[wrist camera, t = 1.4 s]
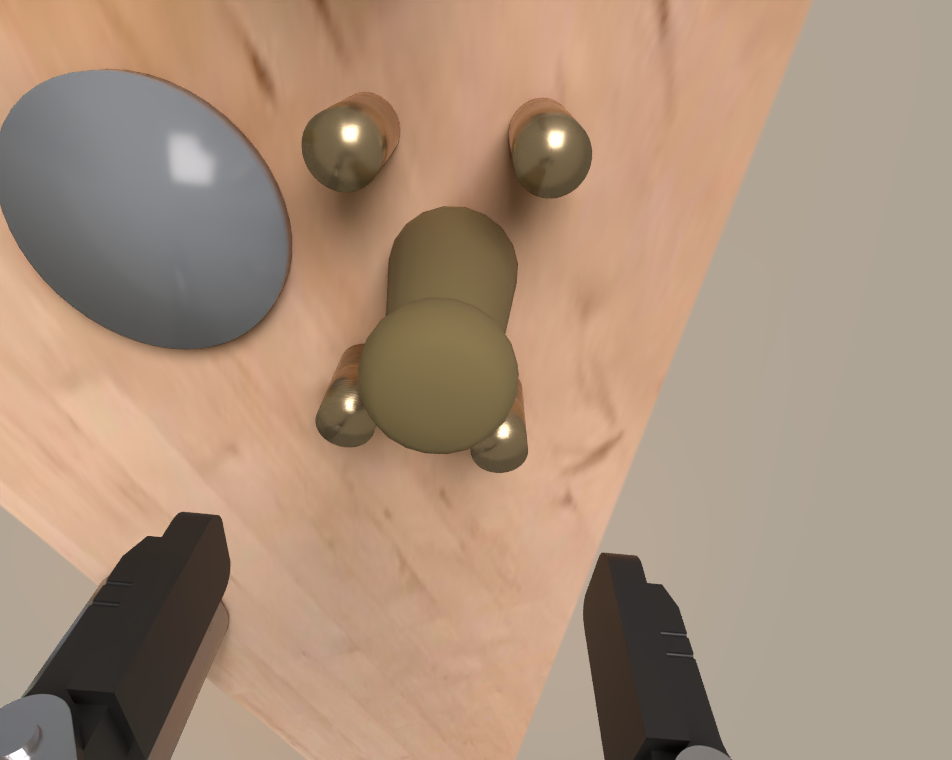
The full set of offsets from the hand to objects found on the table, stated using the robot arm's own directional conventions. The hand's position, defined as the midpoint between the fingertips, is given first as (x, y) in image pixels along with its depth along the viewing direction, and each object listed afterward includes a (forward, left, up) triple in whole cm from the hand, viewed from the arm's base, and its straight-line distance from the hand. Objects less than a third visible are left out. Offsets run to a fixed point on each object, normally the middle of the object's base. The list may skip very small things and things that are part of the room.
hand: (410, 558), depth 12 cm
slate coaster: (-9, +10, -17) cm, 21 cm away
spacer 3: (-2, -7, -17) cm, 18 cm away
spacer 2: (-7, -1, -17) cm, 18 cm away
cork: (0, 0, -17) cm, 17 cm away
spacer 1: (+1, +7, -17) cm, 18 cm away
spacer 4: (+7, +2, -17) cm, 18 cm away
